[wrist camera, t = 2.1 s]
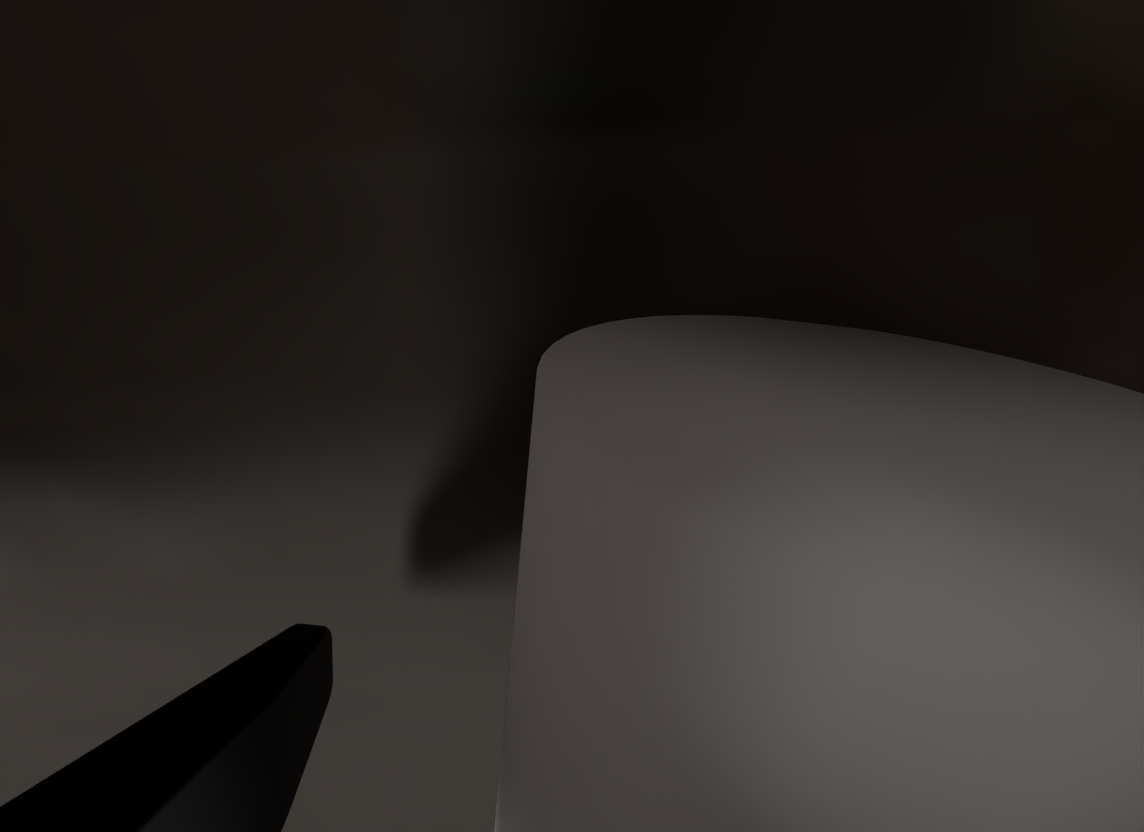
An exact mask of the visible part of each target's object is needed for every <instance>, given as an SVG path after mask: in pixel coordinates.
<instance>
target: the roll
mask: <svg viewBox="0 0 1144 832" xmlns="http://www.w3.org/2000/svg"><path fill="white" fill-rule="evenodd" d="M494 832H1144V394H1143V393H1140V392H1136V391H1133V390H1130V389H1126V388H1123V387H1120V386H1116V385H1113V384H1110V383H1106V382H1103V381H1099V380H1095V379H1092V378H1088V377H1085V376H1081V375H1077V374H1074V373H1070V372H1066V371H1063V370H1059V369H1055V368H1051V367H1047V366H1043V365H1039V364H1035V363H1031V362H1027V361H1023V360H1019V359H1015V358H1010V357H1006V356H1002V355H997V354H993V353H989V352H984V351H980V350H975V349H970V348H965V347H961V346H956V345H951V344H946V343H941V342H936V341H931V340H925V339H920V338H915V337H909V336H904V335H898V334H892V333H886V332H880V331H874V330H867V329H858V328H849V327H840V326H831V325H823V324H814V323H805V322H796V321H787V320H779V319H770V318H761V317H747V316H725V315H671V316H652V317H642V318H631V319H625V320H618V321H612V322H606V323H602V324H599V325H595V326H591V327H587V328H584V329H581V330H579V331H576V332H573V333H571V334H568V335H566V336H565V337H563V338H561V339H560V340H558V341H556V342H555V343H553V344H552V345H551V346H550V347H549V348H548V349H547V350H546V351H545V353H544V354H543V355H542V357H541V360H540V362H539V364H538V367H537V374H536V385H535V396H534V407H533V418H532V429H531V440H530V450H529V461H528V472H527V483H526V494H525V505H524V516H523V527H522V537H521V548H520V559H519V570H518V581H517V592H516V603H515V613H514V624H513V635H512V646H511V657H510V668H509V679H508V689H507V700H506V711H505V722H504V733H503V744H502V755H501V766H500V776H499V787H498V798H497V809H496V820H495V831H494Z"/></svg>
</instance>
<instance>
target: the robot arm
mask: <svg viewBox="0 0 1144 832" xmlns="http://www.w3.org/2000/svg"><path fill="white" fill-rule="evenodd" d="M332 684H333V663H332V635H331V632H330V630H329V629H328V628H327V627H325V626H318V625H310V624H295V625H293V626H291V627H289V628H288V629H286V630H284V631H283V632H281V633H280V634H278V635H276V636H275V637H273V638H272V639H270V640H268V641H267V642H265V643H263V644H262V645H260V646H259V647H257V648H255V649H254V650H252V651H251V652H249V653H247V654H246V655H244V656H242V657H241V658H239V659H238V660H236V661H234V662H233V663H231V664H230V665H228V666H226V667H225V668H223V669H222V670H220V671H218V672H217V673H215V674H213V675H212V676H210V677H209V678H207V679H205V680H204V681H202V682H201V683H199V684H197V685H196V686H194V687H193V688H191V689H189V690H188V691H186V692H184V693H183V694H181V695H180V696H178V697H176V698H175V699H173V700H172V701H170V702H168V703H167V704H165V705H164V706H162V707H160V708H159V709H157V710H155V711H154V712H152V713H151V714H149V715H147V716H146V717H144V718H143V719H141V720H139V721H138V722H136V723H135V724H133V725H131V726H130V727H128V728H126V729H125V730H123V731H122V732H120V733H118V734H117V735H115V736H114V737H112V738H110V739H109V740H107V741H105V742H104V743H102V744H101V745H99V746H97V747H96V748H94V749H93V750H91V751H89V752H88V753H86V754H85V755H83V756H81V757H80V758H78V759H76V760H75V761H73V762H72V763H70V764H68V765H67V766H65V767H64V768H62V769H60V770H59V771H57V772H56V773H54V774H52V775H51V776H49V777H47V778H46V779H44V780H43V781H41V782H39V783H38V784H36V785H35V786H33V787H31V788H30V789H28V790H27V791H25V792H23V793H22V794H20V795H18V796H17V797H15V798H14V799H12V800H10V801H9V802H7V803H6V804H4V805H2V806H1V807H0V832H281V830H282V828H283V826H284V824H285V821H286V819H287V816H288V813H289V811H290V808H291V805H292V803H293V800H294V797H295V794H296V792H297V789H298V786H299V783H300V780H301V778H302V775H303V772H304V769H305V766H306V764H307V761H308V758H309V755H310V752H311V750H312V747H313V744H314V741H315V738H316V736H317V733H318V730H319V727H320V724H321V722H322V719H323V716H324V713H325V710H326V708H327V705H328V702H329V699H330V695H331V691H332Z"/></svg>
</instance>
